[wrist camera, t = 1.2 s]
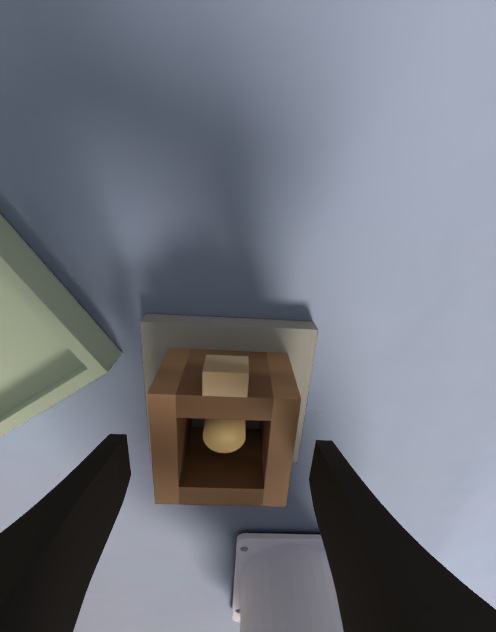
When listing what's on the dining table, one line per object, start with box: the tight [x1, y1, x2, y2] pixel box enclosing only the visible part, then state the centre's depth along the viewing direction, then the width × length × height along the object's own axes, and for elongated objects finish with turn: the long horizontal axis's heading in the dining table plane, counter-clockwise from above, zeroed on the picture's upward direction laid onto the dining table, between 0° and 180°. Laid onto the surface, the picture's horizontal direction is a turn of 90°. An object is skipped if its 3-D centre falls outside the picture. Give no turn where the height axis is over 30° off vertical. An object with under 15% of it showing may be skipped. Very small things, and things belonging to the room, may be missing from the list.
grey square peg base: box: [140, 314, 318, 463], centre depth 14 cm, size 8×8×4 cm
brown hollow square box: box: [147, 348, 301, 507], centre depth 13 cm, size 6×6×4 cm
